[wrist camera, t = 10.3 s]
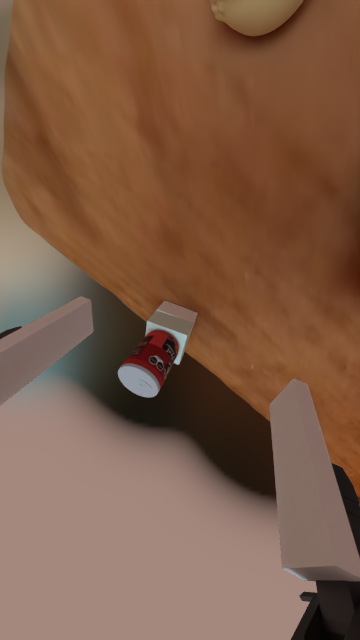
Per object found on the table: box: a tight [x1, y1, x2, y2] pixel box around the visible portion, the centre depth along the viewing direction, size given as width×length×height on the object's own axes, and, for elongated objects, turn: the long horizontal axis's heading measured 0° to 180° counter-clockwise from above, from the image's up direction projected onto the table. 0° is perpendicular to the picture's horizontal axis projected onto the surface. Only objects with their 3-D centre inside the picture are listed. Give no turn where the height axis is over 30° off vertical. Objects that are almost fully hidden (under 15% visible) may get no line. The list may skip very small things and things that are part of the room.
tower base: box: [157, 301, 198, 340], centre depth 47 cm, size 9×9×5 cm
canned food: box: [118, 330, 179, 397], centre depth 37 cm, size 8×8×11 cm
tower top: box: [145, 310, 193, 364], centre depth 43 cm, size 9×9×5 cm
